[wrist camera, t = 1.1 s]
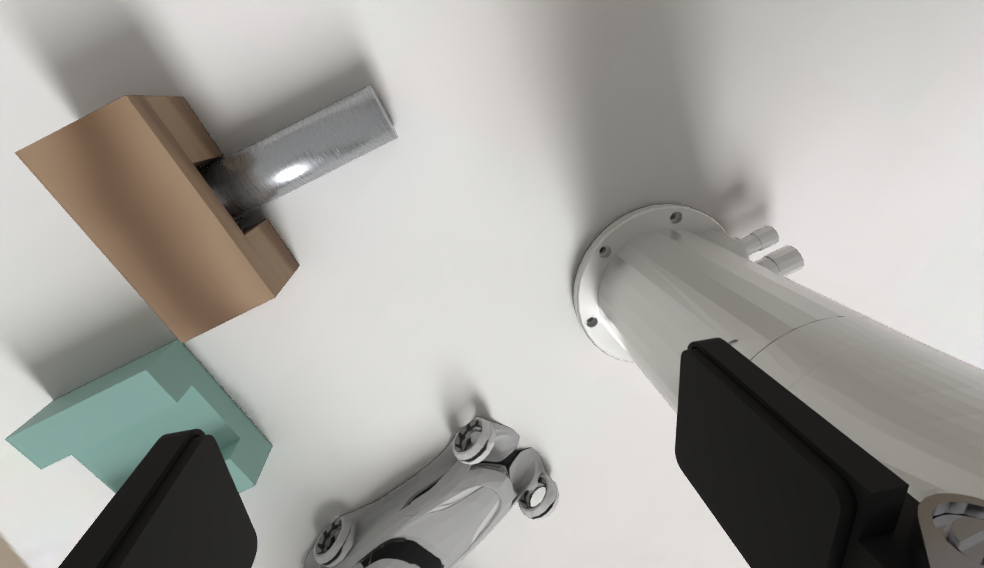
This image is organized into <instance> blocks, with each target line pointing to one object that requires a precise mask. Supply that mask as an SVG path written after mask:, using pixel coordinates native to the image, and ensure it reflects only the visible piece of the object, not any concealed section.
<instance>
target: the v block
mask: <svg viewBox="0 0 984 568" xmlns="http://www.w3.org/2000/svg"><path fill="white" fill-rule="evenodd" d="M191 429H201V430H202V431H203V432H204V433H205V434H206V435H208V434H209V435H212V436H213V437H214V438H215V440H216V442H217V444H218V446H219V449H220V451H221V453H222V456H223V458H224V460H225V463H226V465H227V467H228V470H229V472H230V474H231V477H232V479H233V481H234V484H235V486H236V488H237V491H238V493H240V492H242V491H244V490H247V489H249V488H251V487H253V486H255V484H256V482H257V480H258V478H259V475H260V473H261V471H262V469H263V466H264V464H265V462H266V460H267V457H268V455H269V453H270V451H271V448H272V445H271V444H270V443H269V441H268V440H267V439H266V438H265V437H264V436H263V435H262V433H261V432H260V431H259V430H258V429H257V428H256V427H255V425H254V424H253V423H252V422H251V421H250V420H249V419H248V417H247V416H246V415H245V414H244V413H243V412H242V411H241V409H240V408H239V407H238V406H237V405H236V404H235V403H234V402H233V400H232V399H231V398H230V397H229V396H228V395H227V394H226V392H225V391H224V390H223V389H222V388H221V387H220V386H219V384H218V383H217V382H216V381H215V380H214V379H213V378H212V376H211V375H210V374H209V373H208V372H207V371H206V370H205V369H204V367H203V366H202V365H201V364H200V363H199V362H198V361H197V359H196V358H195V357H194V356H193V355H192V354H191V353H190V351H189V350H188V349H187V348H186V347H185V346H184V345H183V343H181V341H180V340H179V339H177V340H175V341H173V342H171V343H169V344H167V345H165V346H163V347H161V348H159V349H157V350H155V351H153V352H150V353H148V354H146V355H144V356H142V357H140V358H138V359H136V360H134V361H132V362H130V363H128V364H126V365H124V366H122V367H120V368H118V369H116V370H114V371H112V372H110V373H108V374H106V375H104V376H102V377H100V378H98V379H96V380H94V381H92V382H90V383H88V384H86V385H84V386H82V387H80V388H78V389H76V390H74V391H72V392H70V393H67V394H65V395H63V396H61V397H59V398H57V399H55V400H53V401H52V402H51V403H50V404H48V405H47V406H46V407H45V408H43V409H42V410H41V411H40V412H38V413H37V414H36V415H35V416H33V417H32V418H31V419H30V420H28V421H27V422H26V423H25V424H23V425H22V426H21V427H20V428H18V429H17V430H16V431H15V432H13V433H12V434H11V435H10V436H8V437H7V438H6V439H5V440H6V441H7V442H9V443H10V444H11V445H12V446H13V447H15V448H16V449H17V450H18V451H19V452H21V453H22V454H23V455H24V456H25V457H27V458H28V459H29V460H30V461H31V462H33V463H34V464H35V465H36V466H37V467H39V468H40V469H43V468H45V467H47V466H49V465H51V464H53V463H55V462H57V461H59V460H61V459H64V458H66V457H68V456H70V455H73V456H74V457H75V458H76V459H77V460H78V461H79V462H80V463H82V464H83V465H84V466H85V467H86V468H87V469H88V470H90V471H91V472H92V473H93V474H94V475H95V476H96V477H98V478H99V479H100V480H101V481H102V482H103V483H104V484H106V485H107V486H108V487H109V488H110V489H111V490H112V491H114V492H115V493H117V492H118V490H119V489H120V488H121V486H122V485H123V484H124V483H125V481H126V480H127V479H128V477H129V476H130V475H131V474H132V472H133V471H134V470H135V468H136V467H137V466H138V465H139V463H140V462H141V461H142V460H143V458H144V457H145V456H146V454H147V453H148V452H149V451H150V449H151V448H152V447H153V445H154V444H155V443H156V442H157V440H158V439H159V438H160V437H161V436H162V435H165V434H169V433H174V432H180V431H186V430H191Z"/></svg>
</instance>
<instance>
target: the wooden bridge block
mask: <svg viewBox="0 0 984 568" xmlns="http://www.w3.org/2000/svg"><path fill="white" fill-rule="evenodd" d="M15 154H16V155H17V156H18V157H19V158H20V159H21V160H22V162H23V163H24V164H25V165H26V166H27V167H28V168H29V170H30V171H31V172H32V173H33V174H34V175H35V176H36V178H37V179H38V180H39V181H40V182H41V183H42V184H43V186H44V187H45V188H46V189H47V190H48V191H49V192H50V193H51V195H52V196H53V197H54V198H55V199H56V200H57V201H58V203H59V204H60V205H61V206H62V207H63V208H64V209H65V211H66V212H67V213H68V214H69V215H70V216H71V217H72V219H73V220H74V221H75V222H76V223H77V224H78V225H79V227H80V228H81V229H82V230H83V231H84V232H85V233H86V234H87V236H88V237H89V238H90V239H91V240H92V241H93V242H94V244H95V245H96V246H97V247H98V248H99V249H100V250H101V252H102V253H103V254H104V255H105V256H106V257H107V258H108V260H109V261H110V262H111V263H112V264H113V265H114V266H115V267H116V269H117V270H118V271H119V272H120V273H121V274H122V275H123V277H124V278H125V279H126V280H127V281H128V282H129V283H130V285H131V286H132V287H133V288H134V289H135V290H136V291H137V293H138V294H139V295H140V296H141V297H142V298H143V299H144V300H145V302H146V303H147V304H148V305H149V306H150V307H151V308H152V310H153V311H154V312H155V313H156V314H157V315H158V316H159V318H160V319H161V320H162V321H163V322H164V323H165V324H166V326H167V327H168V328H169V329H170V330H171V331H172V332H173V333H174V335H175V336H176V337H177V338H178V339H179V340H180V341H181V343H184V342H186V341H188V340H190V339H192V338H194V337H196V336H198V335H200V334H202V333H204V332H206V331H208V330H210V329H212V328H214V327H216V326H218V325H220V324H222V323H225V322H227V321H229V320H231V319H233V318H235V317H237V316H239V315H241V314H243V313H245V312H247V311H249V310H251V309H253V308H255V307H257V306H259V305H261V304H263V303H265V302H267V301H269V300H271V299H273V298H275V297H276V296H277V294H278V293H279V292H280V291H281V289H282V288H283V287H284V285H285V284H286V283H287V281H288V280H289V279H290V278H291V276H292V275H293V274H294V272H295V271H296V270H297V268H298V267H299V266H300V265H299V264H298V263H297V261H296V260H295V258H294V257H293V255H292V254H291V252H290V251H289V250H288V248H287V247H286V245H285V244H284V242H283V241H282V239H281V238H280V237H279V235H278V234H277V232H276V231H275V229H274V228H273V226H272V225H271V223H270V222H269V221H268V219H266V220H264V221H262V222H260V223H258V224H256V225H254V226H252V227H250V228H248V229H246V230H244V231H241V229H240V228H239V227H238V225H237V224H236V222H235V221H234V220H233V218H232V217H231V215H230V214H229V213H228V211H227V210H226V209H225V207H224V206H223V204H222V203H221V202H220V200H219V199H218V198H217V196H216V195H215V193H214V192H213V191H212V189H211V188H210V186H209V185H208V184H207V182H206V181H205V180H204V178H203V177H202V175H201V174H200V173H199V171H198V170H197V168H199V167H201V166H203V165H205V164H207V163H209V162H211V161H213V160H215V159H217V158H219V157H221V156H223V154H222V152H221V151H220V150H219V148H218V147H217V145H216V144H215V142H214V141H213V139H212V138H211V137H210V135H209V134H208V132H207V131H206V129H205V128H204V126H203V125H202V123H201V122H200V121H199V119H198V118H197V116H196V115H195V113H194V112H193V110H192V109H191V108H190V106H189V105H188V103H187V102H186V100H185V99H184V97H170V96H136V95H125V96H123V97H121V98H119V99H117V100H115V101H114V102H112V103H110V104H108V105H106V106H104V107H102V108H100V109H98V110H96V111H94V112H92V113H90V114H88V115H87V116H85V117H83V118H81V119H79V120H77V121H75V122H73V123H71V124H69V125H67V126H65V127H63V128H62V129H60V130H58V131H56V132H54V133H52V134H50V135H48V136H46V137H44V138H42V139H40V140H38V141H37V142H35V143H33V144H31V145H29V146H27V147H25V148H23V149H21V150H19V151H17V152H15Z"/></svg>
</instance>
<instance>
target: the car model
mask: <svg viewBox="0 0 984 568" xmlns="http://www.w3.org/2000/svg"><path fill="white" fill-rule="evenodd" d="M519 437H520V436H519V435H518V434H517V433H516V432H515V431H514V430H513V429H511V428H509V427H506V426H504V425H501V424H497V423H494V422H491V421H489V420H485V419H483V418H480V417H475V418H474V419H473V420H472V421H471V422H470V423H469V424H468V425H467V426H465V427H463V428H461V429H460V430H459V431H458V432H457V433H456V435H455V437H454V439H453V440H452V441H451V443H450V444H449V445H448V446H447V447H446V449H445V450H444V451H443V452H442V453H441V454H440V455H439V456H438V457H437V458H436V459H435V460H433V461H432V462H431V463H430V464H429V465H427V466H426V467H425V468H423V469H422V470H421V471H420V472H418V473H417V474H416V475H415V476H413V477H412V478H411V479H410V480H408V481H407V482H405V483H404V484H402V485H401V486H399V487H398V488H396V489H395V490H393V491H392V492H390V493H389V494H387V495H386V496H384V497H383V498H381V499H380V500H378V501H376V502H374V503H371V504H369V505H366V506H364V507H362V508H359V509H357V510H355V511H353V512H351V513H348V514H345V515H343V516H339V517H338V519H336V520H335V521H334V522H333V523H332V524H331V523H330V524H329V525H328V526H327V527H325V528H324V530H323V531H322V533H321V534H320V536H319V538H318V540H317V541H316V544H315V546H314V547H313V549H312V550H311V552H310V553H309V555H308V556H307V559H306V561H305V568H452V567H453V566H455V565H456V564H457V563H458V562H459V561H461V560H462V559H463V558H464V557H465V556H466V555H467V554H468V553H469V552H470V551H472V550H473V549H474V548H475V547H476V546H477V545H478V544H479V543H480V542H481V541H482V540H483V539H484V538H485V537H486V536H487V535H488V533H489V532H490V531H491V530H492V529H493V528H494V527H495V526H496V525H497V524H498V523H499V522H500V521H501V519H502V518H503V517H504V516H505V515H506V514H507V513H508V511H509V510H510V509H511V508H512V507H513V506H514V505H515V503H517V502H519V507H520V510H521V511H522V512H523V514H524V515H525V516H527V517H528V518H531V519H534V520H542V519H544V518H546V517H548V516H549V515H550V514H551V513H552V512H553V511H554V510H555V507H556V505H557V503H558V498H559V493H558V489H557V486H556V483H555V482H554V481H553V480H552V479H551V477H550V476H549V474H548V473H547V472H546V469H545V467H544V464H543V462H542V460H541V457H540V455H539V453H538V452H537V451H536V450H534V449H533V448H528V449H524V450H520V451H517V450H515V449H516V447H517V445H518V441H519ZM540 487H545V488H546V493H545V496H544V498H543V500H542V502H541V503H539V504H538V505H537V506H535V507H531V506H530V500H531V497H532V495H533V494H534V492H535V491H536V490H537V489H538V488H540ZM403 541H404V542H403ZM382 546H383V547H382ZM417 565H418V566H417Z"/></svg>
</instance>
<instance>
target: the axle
mask: <svg viewBox="0 0 984 568" xmlns="http://www.w3.org/2000/svg"><path fill="white" fill-rule="evenodd" d="M396 138H398V136H397V133H396V131H395V128H394V126H393V124H392V122H391V120H390V118H389V116H388V114H387V113H386V111H385V109H384V107H383V105H382V103H381V101H380V99H379V97H378V96H377V94H376V92H375V91H374V89H373V88H372V86H371V85H369V86H367V87H365V88H363V89H361V90H359V91H357V92H355V93H353V94H351V95H349V96H347V97H345V98H343V99H341V100H339V101H337V102H335V103H333V104H332V105H330V106H328V107H326V108H324V109H322V110H320V111H318V112H316V113H314V114H312V115H310V116H308V117H306V118H304V119H302V120H300V121H298V122H296V123H294V124H292V125H290V126H288V127H286V128H284V129H282V130H280V131H278V132H276V133H275V134H273V135H271V136H269V137H267V138H265V139H263V140H261V141H259V142H257V143H255V144H253V145H251V146H249V147H247V148H245V149H243V150H241V151H239V152H237V153H235V154H233V155H231V156H229V157H227V158H225V159H223V160H221V161H219V162H218V163H216V164H214V165H212V166H210V167H208V168H206V169H204V170H202V171H200V172H199V173H200V174H201V175H202V177H203V178H204V180H205V181H206V182H207V184H208V185H209V186H210V188H211V189H212V191H213V192H214V193H215V195H216V196H217V198H218V199H219V200H220V202H221V203H222V204H223V206H224V207H225V209H226V210H227V211H228V213H229V214H230V215H231V217H232V218H233V220H235V219H237V218H239V217H241V216H243V215H245V214H247V213H249V212H251V211H253V210H255V209H257V208H259V207H261V206H263V205H265V204H267V203H269V202H271V201H273V200H275V199H277V198H279V197H281V196H283V195H285V194H287V193H289V192H291V191H293V190H295V189H297V188H299V187H301V186H303V185H305V184H307V183H309V182H311V181H313V180H315V179H317V178H319V177H321V176H323V175H325V174H327V173H329V172H330V171H332V170H334V169H336V168H338V167H340V166H342V165H344V164H346V163H348V162H350V161H352V160H354V159H356V158H358V157H360V156H362V155H364V154H366V153H368V152H370V151H372V150H374V149H376V148H378V147H380V146H382V145H384V144H386V143H388V142H390V141H392V140H394V139H396Z"/></svg>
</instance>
